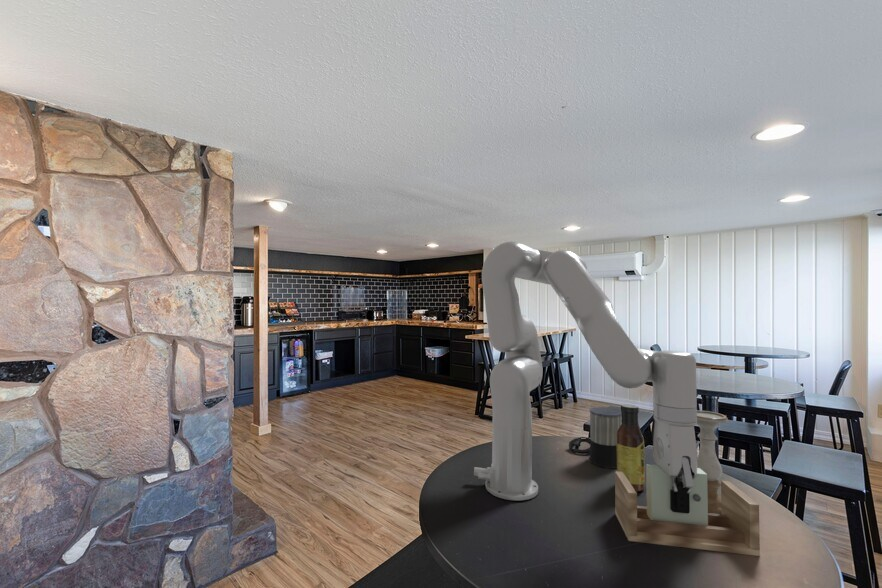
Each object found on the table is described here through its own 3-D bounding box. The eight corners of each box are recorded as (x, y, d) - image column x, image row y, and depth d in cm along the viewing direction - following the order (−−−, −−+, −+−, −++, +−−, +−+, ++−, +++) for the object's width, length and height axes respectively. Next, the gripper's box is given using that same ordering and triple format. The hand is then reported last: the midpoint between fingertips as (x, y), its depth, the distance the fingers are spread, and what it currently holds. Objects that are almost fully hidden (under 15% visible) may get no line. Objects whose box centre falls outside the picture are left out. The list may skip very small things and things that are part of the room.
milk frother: (622, 471, 107) (622, 416, 107) (563, 460, 114) (563, 409, 114) (624, 454, 119) (624, 405, 120) (570, 445, 126) (570, 399, 127)
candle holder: (707, 493, 94) (706, 408, 95) (742, 512, 86) (741, 418, 86) (676, 497, 92) (675, 410, 93) (709, 516, 84) (708, 420, 84)
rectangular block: (652, 523, 76) (652, 470, 77) (646, 514, 80) (646, 464, 80) (709, 528, 74) (708, 475, 75) (700, 519, 78) (699, 468, 78)
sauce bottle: (648, 494, 93) (648, 410, 94) (620, 491, 95) (620, 408, 95) (640, 482, 100) (639, 403, 101) (614, 479, 101) (614, 402, 102)
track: (628, 540, 74) (628, 492, 75) (615, 513, 84) (615, 471, 84) (759, 556, 70) (759, 504, 71) (729, 525, 80) (729, 481, 80)
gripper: (641, 403, 87) (642, 487, 86) (670, 423, 71) (671, 527, 70) (678, 404, 86) (679, 490, 85) (716, 426, 70) (718, 532, 69)
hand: (676, 506), depth 77 cm, fingers closed on rectangular block, 3 cm apart
